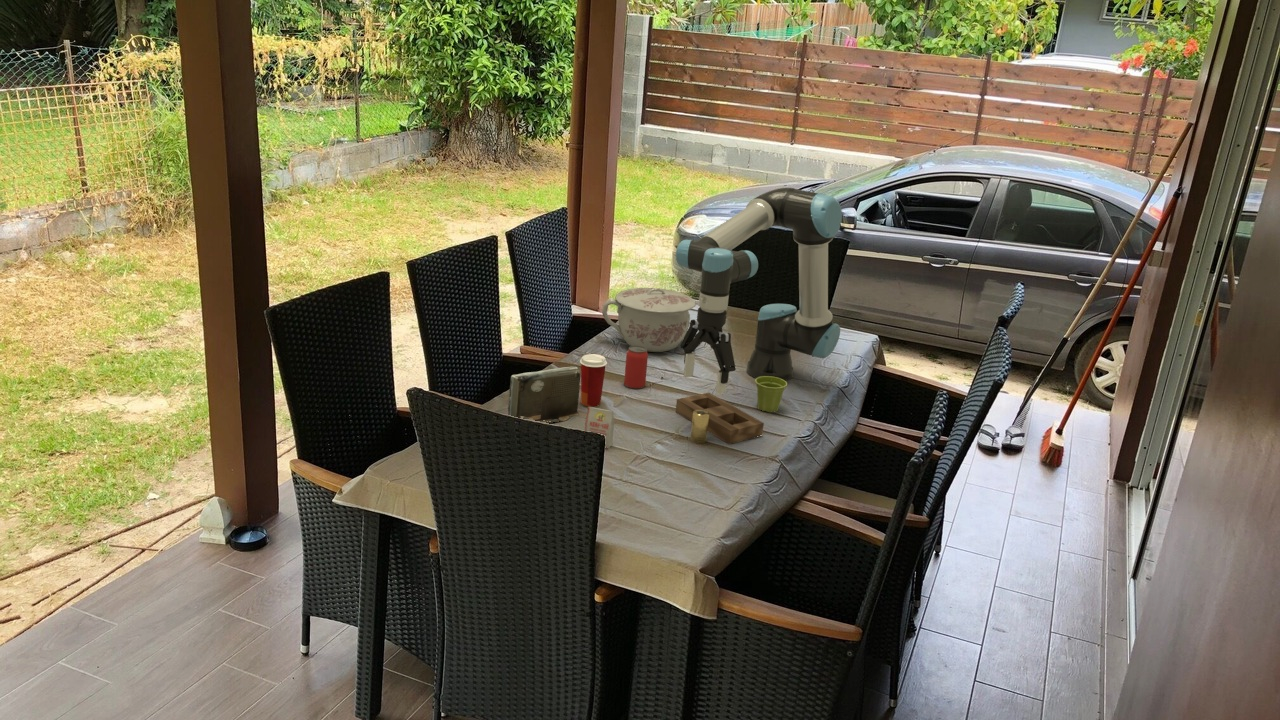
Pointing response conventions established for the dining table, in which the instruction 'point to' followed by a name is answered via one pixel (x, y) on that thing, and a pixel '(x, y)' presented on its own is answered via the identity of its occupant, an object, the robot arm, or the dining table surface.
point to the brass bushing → (699, 426)
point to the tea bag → (600, 423)
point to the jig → (721, 417)
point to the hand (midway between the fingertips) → (703, 385)
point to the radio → (545, 394)
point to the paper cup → (592, 379)
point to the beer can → (636, 367)
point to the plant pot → (769, 392)
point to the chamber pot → (651, 317)
